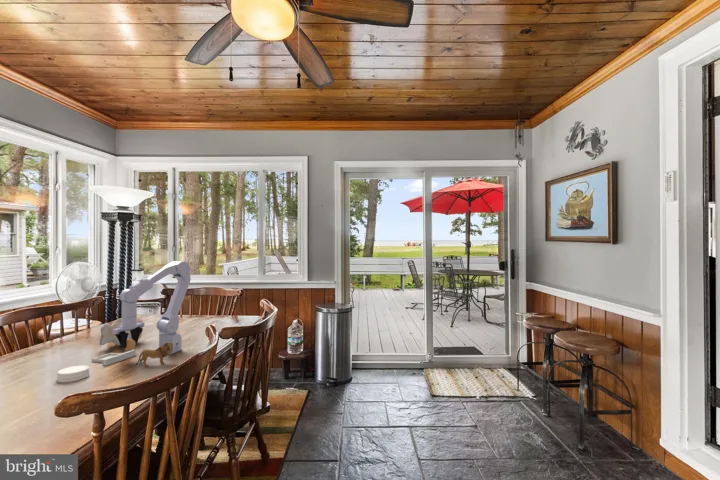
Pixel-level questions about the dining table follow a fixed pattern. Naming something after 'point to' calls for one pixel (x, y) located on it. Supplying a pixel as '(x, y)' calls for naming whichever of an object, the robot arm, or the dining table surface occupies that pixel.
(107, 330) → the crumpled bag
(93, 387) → the dining table surface
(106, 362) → the white picture ledge
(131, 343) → the ball
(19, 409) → the dining table surface
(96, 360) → the tray
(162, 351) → the lion figurine
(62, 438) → the dining table surface
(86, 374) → the coaster
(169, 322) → the robot arm
